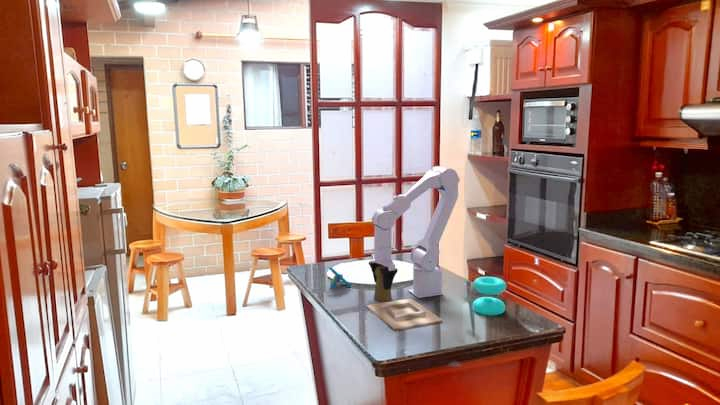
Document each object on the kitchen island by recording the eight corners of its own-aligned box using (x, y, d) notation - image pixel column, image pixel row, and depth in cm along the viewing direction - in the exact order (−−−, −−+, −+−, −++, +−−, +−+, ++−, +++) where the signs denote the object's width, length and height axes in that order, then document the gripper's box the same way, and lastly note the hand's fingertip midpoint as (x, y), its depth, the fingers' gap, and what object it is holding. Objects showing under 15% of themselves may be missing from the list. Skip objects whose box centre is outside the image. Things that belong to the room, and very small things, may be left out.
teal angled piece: (354, 286, 182) (333, 267, 180) (343, 299, 181) (322, 280, 180) (349, 281, 193) (329, 263, 191) (338, 293, 192) (318, 275, 190)
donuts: (489, 287, 155) (466, 278, 163) (488, 319, 157) (465, 309, 165) (513, 282, 160) (489, 273, 169) (512, 312, 162) (488, 303, 170)
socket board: (410, 299, 173) (411, 294, 173) (442, 321, 155) (442, 316, 155) (366, 306, 167) (366, 301, 167) (394, 330, 149) (394, 324, 149)
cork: (386, 302, 171) (386, 270, 169) (370, 299, 174) (370, 267, 172) (395, 297, 176) (395, 266, 174) (379, 294, 179) (379, 263, 177)
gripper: (363, 242, 177) (363, 280, 179) (381, 252, 164) (380, 293, 166) (382, 240, 179) (381, 278, 182) (401, 250, 166) (400, 291, 168)
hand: (382, 285), depth 174 cm, fingers open, 7 cm apart
